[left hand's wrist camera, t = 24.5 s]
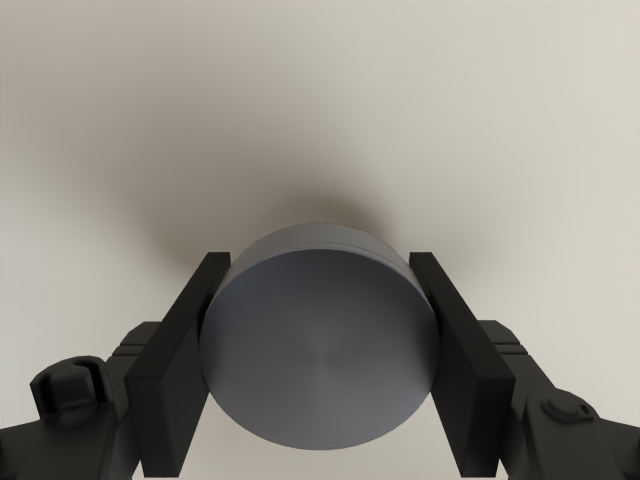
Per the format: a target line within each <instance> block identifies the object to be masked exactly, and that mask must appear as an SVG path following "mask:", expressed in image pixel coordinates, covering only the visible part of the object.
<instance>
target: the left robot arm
mask: <svg viewBox="0 0 640 480" xmlns="http://www.w3.org/2000/svg"><path fill="white" fill-rule="evenodd" d="M230 266H231V260H230V252H208V253H207V255H206V256H205V258H204V259H203V261H202V262H201V264H200V265H199V267H198V268H197V270H196V271H195V273H194V274H193V276H192V277H191V279H190V280H189V282H188V283H187V285H186V286H185V288H184V289H183V291H182V292H181V293H180V295H179V296H178V298H177V299H176V301H175V302H174V304H173V305H172V307H171V308H170V310H169V311H168V313H167V314H166V316H165V317H164V319H163V320H162V322H143V323H142V324H140V325H139V326H137V327H136V328H134V329H133V330H131V331H130V332H129V333H128V334H127V335H126V337H125V338H124V339H123V340H122V342H121V343H120V346H118V347H117V348H116V349H115V351H114V352H113V353H112V356H110V357H109V358H108V360H107V361H106V362H104V361H103V360H102V359H101V358H99V357H94V356H77V357H73V358H69V359H65V360H62V361H60V362H57V363H55V364H53V365H51V366H49V367H47V368H46V369H44V370H43V371H42V372H40V373H39V374H37V375H36V376H35V378H34V379H33V380H32V381H31V383H30V387H31V391H32V394H33V397H34V400H35V403H36V406H37V410H38V413H39V416H40V420H37V421H34V422H30V423H26V424H21V425H17V426H12V427H8V428H4V429H0V480H132V476H133V474H134V472H135V470H136V468H137V465H138V463H139V461H140V459H141V464H142V469H143V473H144V478H178V477H179V474H180V471H181V469H182V466H183V463H184V460H185V458H186V455H187V452H188V449H189V447H190V444H191V441H192V438H193V436H194V433H195V430H196V427H197V424H198V422H199V419H200V416H201V413H202V411H203V408H204V405H205V402H206V400H207V397H208V394H209V389H208V387H207V385H206V383H205V381H204V378H203V375H202V371H201V364H200V356H199V344H198V343H199V334H200V329H201V325H202V322H203V319H204V316H205V314H206V311H207V309H208V307H209V305H210V303H211V301H212V299H213V297H214V295H215V293H216V291H217V289H218V287H219V285H220V283H221V282H222V280H223V278H224V276H225V274H226V272H227V270H228V269H229V268H230ZM409 267H410V268H411V269H412V271H413V273H414V275H415V277H416V278H417V280H418V282H419V284H420V286H421V288H422V290H423V292H424V294H425V296H426V298H427V300H428V302H429V304H430V306H431V308H432V310H433V312H434V314H435V317H436V320H437V323H438V325H439V331H440V336H441V353H440V361H439V369H438V374H437V377H436V380H435V382H434V384H433V386H432V389H431V391H430V392H431V395H432V398H433V400H434V403H435V406H436V409H437V411H438V414H439V417H440V420H441V422H442V425H443V428H444V431H445V433H446V436H447V439H448V442H449V444H450V447H451V450H452V453H453V456H454V458H455V461H456V464H457V467H458V469H459V472H460V475H461V478H495V477H496V472H497V467H498V463H499V458H500V460H501V462H502V464H503V466H504V468H505V470H506V472H507V474H508V480H640V427H635V426H631V425H626V424H622V423H617V422H613V421H609V420H605V419H602V418H600V417H599V415H598V414H597V412H596V411H595V409H594V408H593V407H592V406H590V405H589V404H588V403H587V402H586V401H584V400H583V399H582V398H580V397H578V396H576V395H574V394H572V393H570V392H567V391H564V390H561V389H557V388H555V386H554V385H553V384H552V382H551V381H550V380H549V379H548V377H547V376H546V375H545V374H544V372H543V371H542V370H541V368H540V367H539V366H538V365H537V363H536V362H535V361H534V359H533V358H532V357H531V356H530V355H528V352H527V351H526V349H525V348H524V347H523V345H520V342H519V340H518V339H517V338H516V337H515V335H514V334H513V333H512V331H511V330H509V329H508V328H506V327H505V326H503V325H502V324H500V323H499V322H497V321H496V320H477V319H476V318H475V316H474V315H473V313H472V312H471V310H470V309H469V307H468V306H467V304H466V303H465V301H464V300H463V298H462V297H461V295H460V294H459V292H458V291H457V289H456V288H455V286H454V285H453V284H452V282H451V281H450V279H449V278H448V276H447V275H446V273H445V272H444V270H443V269H442V267H441V266H440V264H439V263H438V261H437V260H436V258H435V257H434V255H433V254H432V252H410V257H409Z"/></svg>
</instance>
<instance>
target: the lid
mask: <svg viewBox="0 0 640 480" xmlns="http://www.w3.org/2000/svg"><path fill="white" fill-rule="evenodd" d="M198 344H199V356H200V364H201V371H202V375H203V378H204V381H205V383H206V385H207V387H208V389H209V391H210V393H211V395H212V396H213V398H214V399H215V401H216V402H217V404H218V405H219V406H220V407H221V408H222V409H223V411H224V412H225V413H226V414H227V415H228V416H229V417H231V418H232V419H233V420H234V421H235V422H236V423H238V424H239V425H240V426H242V427H243V428H245V429H246V430H248V431H250V432H251V433H253V434H255V435H257V436H259V437H261V438H263V439H266V440H268V441H270V442H273V443H276V444H280V445H283V446H287V447H292V448H297V449H306V450H334V449H343V448H347V447H352V446H357V445H360V444H363V443H366V442H369V441H372V440H374V439H376V438H379V437H381V436H383V435H385V434H386V433H388V432H390V431H392V430H394V429H395V428H396V427H398V426H399V425H401V424H402V423H403V422H405V421H406V420H407V419H408V418H409V417H410V416H411V415H412V414H413V413H414V412H415V411H416V410H417V409H418V408H419V407H420V405H421V404H422V403H423V402H424V400H425V399H426V397H427V396H428V394H429V392H430V391H431V389H432V386H433V384H434V382H435V380H436V377H437V374H438V369H439V361H440V353H441V336H440V331H439V325H438V323H437V320H436V317H435V314H434V312H433V310H432V308H431V306H430V304H429V302H428V300H427V298H426V296H425V294H424V292H423V290H422V288H421V286H420V284H419V282H418V280H417V278H416V277H415V275H414V273H413V271H412V269H411V268H410V267H409V265H408V264H407V263H406V262H405V260H404V259H403V258H402V257H401V256H400V255H399V254H398V253H397V252H396V251H395V250H394V249H393V248H391V247H390V246H388V245H387V244H386V243H384V242H383V241H381V240H380V239H378V238H376V237H374V236H372V235H371V234H368V233H366V232H363V231H361V230H358V229H355V228H351V227H347V226H343V225H336V224H328V223H312V224H304V225H297V226H293V227H289V228H285V229H282V230H279V231H277V232H274V233H272V234H269V235H267V236H266V237H264V238H262V239H260V240H258V241H257V242H255V243H254V244H253V245H251V246H250V247H249V248H247V249H246V250H245V251H244V252H243V253H242V254H241V255H240V256H239V257H238V258H237V259H236V260H235V261H234V262H233V264H232V265H231V266H230V268H229V269H228V270H227V272H226V274H225V276H224V278H223V280H222V282H221V283H220V285H219V287H218V289H217V291H216V293H215V295H214V297H213V299H212V301H211V303H210V305H209V307H208V309H207V311H206V314H205V316H204V319H203V322H202V325H201V329H200V334H199V343H198Z"/></svg>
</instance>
